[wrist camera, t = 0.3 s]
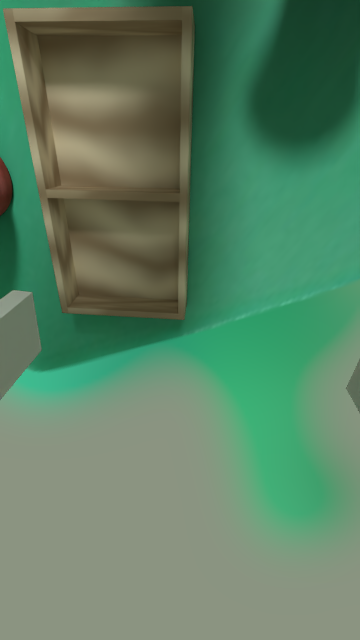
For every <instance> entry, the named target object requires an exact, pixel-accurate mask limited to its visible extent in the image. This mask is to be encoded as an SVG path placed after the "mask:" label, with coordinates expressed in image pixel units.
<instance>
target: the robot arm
mask: <svg viewBox="0 0 360 640" xmlns="http://www.w3.org/2000/svg"><path fill="white" fill-rule="evenodd" d="M41 350H42V349H41V343H40V337H39V330H38V324H37V318H36V312H35V306H34V300H33V294H32V292H25V291H17V290H13V291H11V292H10V293H8V294H7V295H6V296H4V297H3V298H2V299H0V400H1V399H2V397H3V396H4V395H5V394H6V392H7V391H8V390H9V389H10V388H11V386H12V385H13V384H14V383H15V381H16V380H17V379H18V378H19V377H20V376H21V374H22V373H23V372H24V371H25V369H26V368H27V367H28V366H29V365H30V363H31V362H32V361H33V360H34V359H35V357H36V356H37V355H38V354H39V353H40V351H41ZM346 389H347V391H348V393H349V394H350V396H351V398H352V400H353V402H354V403H355V405H356V407H357V408H358V411H359V412H360V360H359V362H358V364H357V366H356V368H355V370H354V373H353V375H352V377H351V379H350V381H349V383H348V385H347V387H346Z"/></svg>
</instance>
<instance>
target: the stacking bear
mask: <svg viewBox="0 0 360 640" xmlns="http://www.w3.org/2000/svg"><path fill="white" fill-rule="evenodd" d="M11 198H12V183H11V178H10V175H9V172H8V170H7V168H6V166H5V164H4V162H3V161H2V159H1V158H0V215H2V214H3V213H4V212H5V211H6V209H7V208H8V206H9V204H10V202H11Z"/></svg>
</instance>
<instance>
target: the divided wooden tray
mask: <svg viewBox="0 0 360 640" xmlns="http://www.w3.org/2000/svg"><path fill="white" fill-rule="evenodd" d="M3 12H4V17H5V22H6V27H7V32H8V37H9V42H10V47H11V52H12V58H13V63H14V68H15V73H16V78H17V83H18V88H19V93H20V99H21V104H22V109H23V114H24V119H25V124H26V129H27V134H28V139H29V145H30V150H31V155H32V160H33V165H34V170H35V175H36V180H37V186H38V191H39V196H40V201H41V206H42V211H43V216H44V221H45V226H46V232H47V237H48V242H49V247H50V252H51V257H52V262H53V267H54V273H55V278H56V283H57V288H58V293H59V298H60V303H61V308H62V313H73V314H91V315H109V316H127V317H144V318H162V319H180V320H184V319H185V312H186V306H187V279H188V245H189V210H190V176H191V141H192V107H193V72H194V38H195V23H194V15H193V7H192V6H169V7H91V8H14V9H3Z"/></svg>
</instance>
